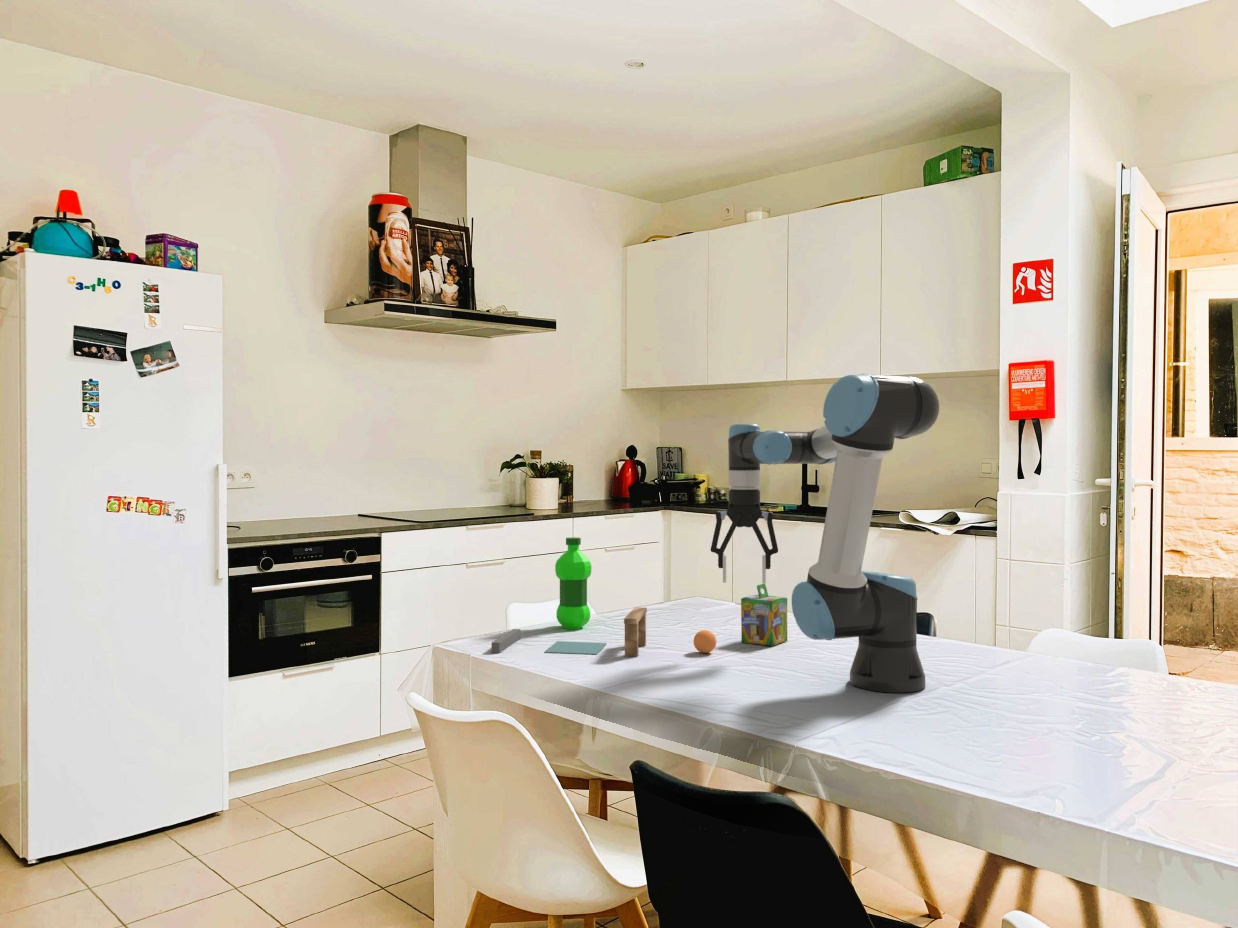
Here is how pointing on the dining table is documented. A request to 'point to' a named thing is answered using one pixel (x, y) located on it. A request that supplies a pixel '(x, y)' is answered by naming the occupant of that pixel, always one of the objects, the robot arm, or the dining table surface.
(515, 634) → the grey long bar
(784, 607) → the chalk box
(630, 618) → the bridge
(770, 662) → the dining table surface
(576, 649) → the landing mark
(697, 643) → the ball
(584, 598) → the plastic bottle
